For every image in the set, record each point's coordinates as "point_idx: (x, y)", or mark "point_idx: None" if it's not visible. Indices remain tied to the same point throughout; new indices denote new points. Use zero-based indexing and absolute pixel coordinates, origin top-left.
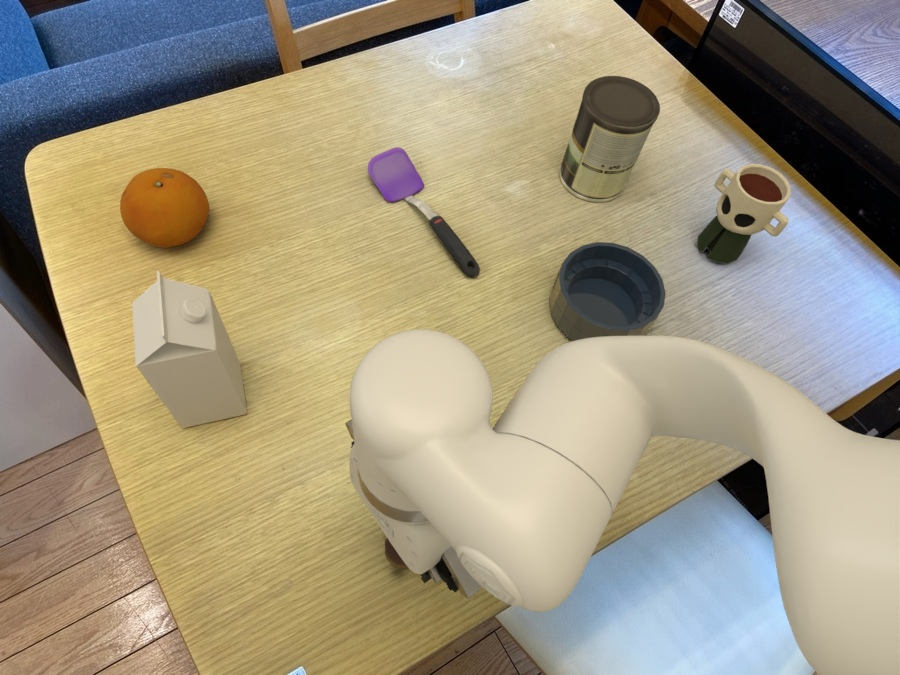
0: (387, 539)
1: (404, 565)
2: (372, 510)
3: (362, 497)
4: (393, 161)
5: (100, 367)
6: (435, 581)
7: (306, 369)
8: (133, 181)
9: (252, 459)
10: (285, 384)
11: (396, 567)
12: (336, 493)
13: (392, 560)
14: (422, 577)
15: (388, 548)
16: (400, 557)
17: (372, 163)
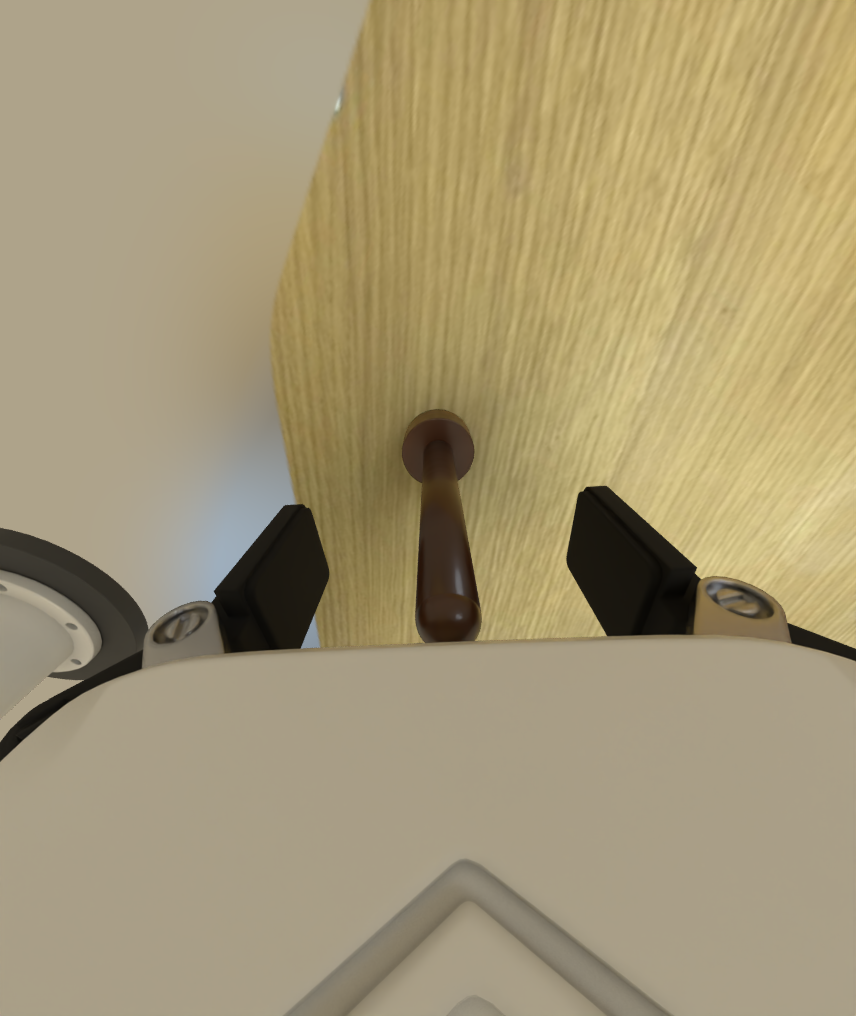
0: (464, 433)
1: (407, 436)
2: (641, 956)
3: (772, 772)
4: None
5: None
6: (170, 616)
7: (825, 454)
8: None
9: (808, 248)
10: (849, 404)
11: (417, 417)
12: (597, 386)
13: (426, 421)
14: (280, 525)
15: (449, 426)
16: (423, 437)
17: None
